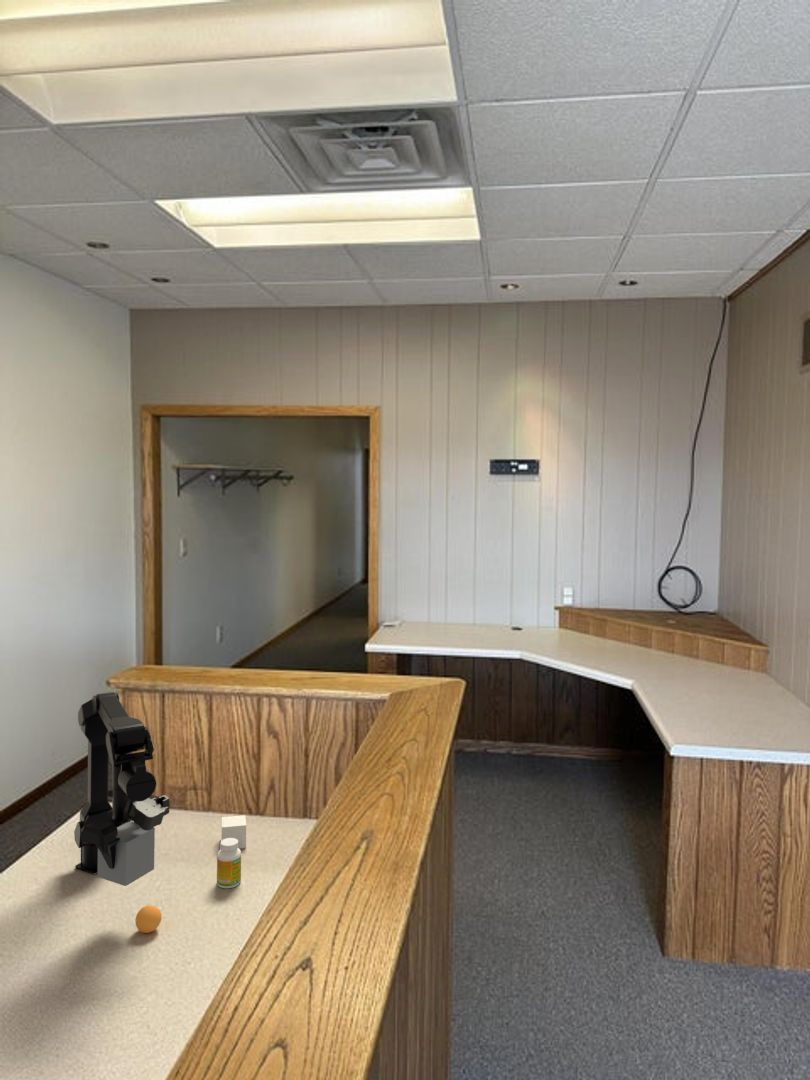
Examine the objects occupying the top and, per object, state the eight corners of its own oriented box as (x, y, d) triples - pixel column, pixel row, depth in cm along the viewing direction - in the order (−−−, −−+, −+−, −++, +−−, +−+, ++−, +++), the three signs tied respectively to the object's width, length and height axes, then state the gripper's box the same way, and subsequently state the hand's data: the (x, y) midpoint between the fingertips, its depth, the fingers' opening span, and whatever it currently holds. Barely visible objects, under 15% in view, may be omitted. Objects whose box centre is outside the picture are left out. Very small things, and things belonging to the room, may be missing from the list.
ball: (151, 932, 142) (136, 941, 144) (170, 920, 147) (155, 929, 149) (141, 908, 144) (126, 917, 146) (159, 897, 148) (145, 906, 150)
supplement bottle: (234, 890, 162) (235, 848, 162) (212, 887, 163) (213, 845, 163) (244, 878, 168) (245, 837, 167) (223, 875, 169) (223, 835, 168)
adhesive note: (246, 848, 182) (246, 825, 182) (221, 850, 181) (221, 827, 181) (245, 837, 188) (245, 815, 188) (221, 839, 187) (221, 817, 186)
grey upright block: (97, 876, 146) (97, 834, 146) (126, 860, 153) (127, 820, 153) (125, 886, 143) (126, 842, 143) (154, 869, 150) (154, 827, 150)
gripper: (121, 808, 136) (120, 890, 136) (189, 776, 153) (189, 849, 153) (78, 798, 140) (78, 876, 141) (149, 768, 157) (149, 838, 158)
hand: (127, 859), depth 148 cm, fingers closed on grey upright block, 8 cm apart
